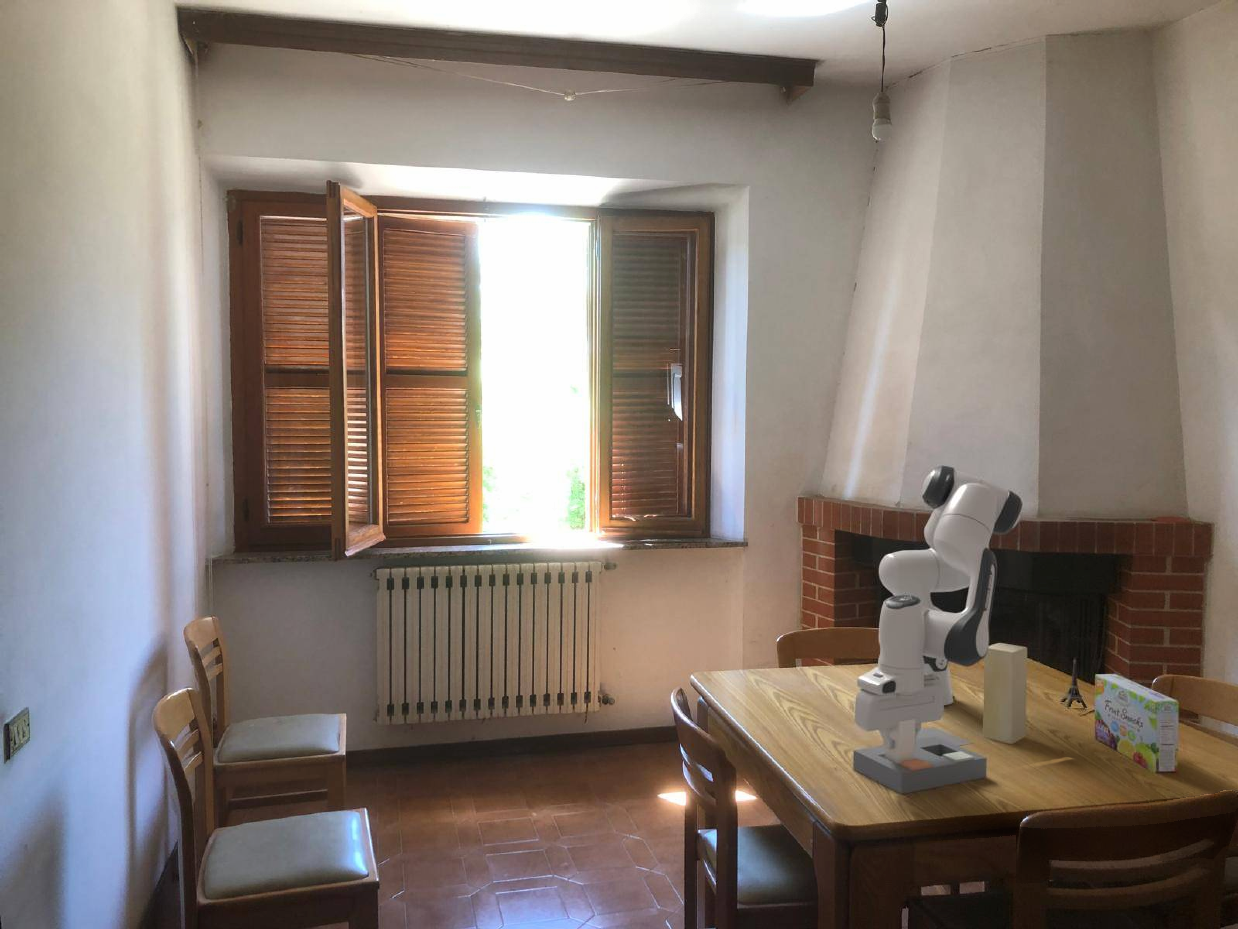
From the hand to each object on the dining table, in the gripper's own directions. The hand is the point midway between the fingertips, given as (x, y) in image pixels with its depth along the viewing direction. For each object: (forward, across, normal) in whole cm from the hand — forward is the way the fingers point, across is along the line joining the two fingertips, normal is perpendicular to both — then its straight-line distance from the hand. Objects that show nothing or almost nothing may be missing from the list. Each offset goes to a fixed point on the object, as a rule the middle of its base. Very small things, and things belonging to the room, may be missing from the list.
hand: (899, 746), depth 182 cm
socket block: (+6, -5, 0) cm, 8 cm away
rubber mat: (+6, -22, -14) cm, 27 cm away
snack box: (+7, -56, +10) cm, 58 cm away
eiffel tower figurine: (+7, -76, -20) cm, 79 cm away
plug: (+4, 0, 0) cm, 4 cm away
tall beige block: (+6, -38, -9) cm, 40 cm away
